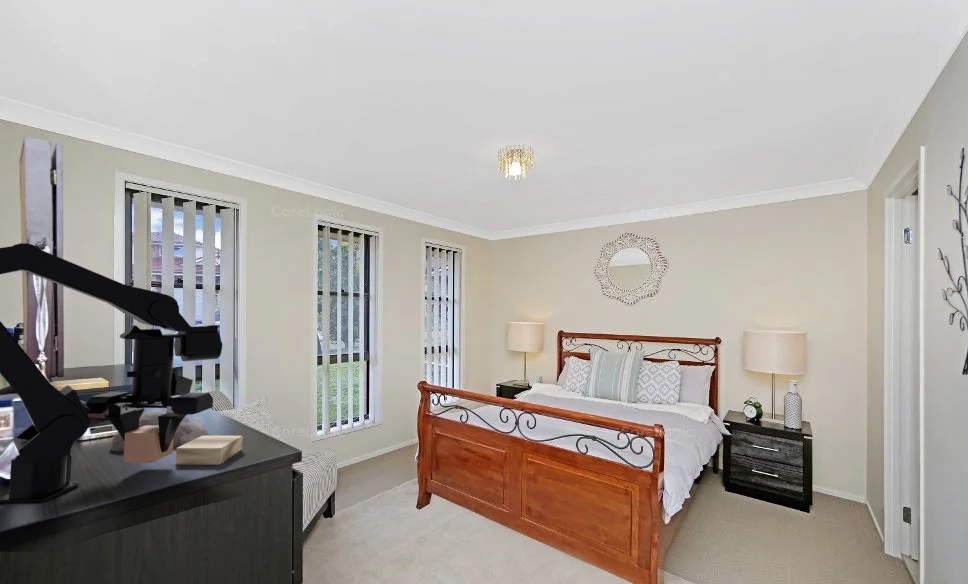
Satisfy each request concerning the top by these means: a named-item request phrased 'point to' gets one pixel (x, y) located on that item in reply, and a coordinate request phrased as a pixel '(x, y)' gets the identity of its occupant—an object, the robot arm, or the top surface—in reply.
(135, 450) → the block
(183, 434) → the stone
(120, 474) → the top surface
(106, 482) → the top surface
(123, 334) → the robot arm
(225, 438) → the base
